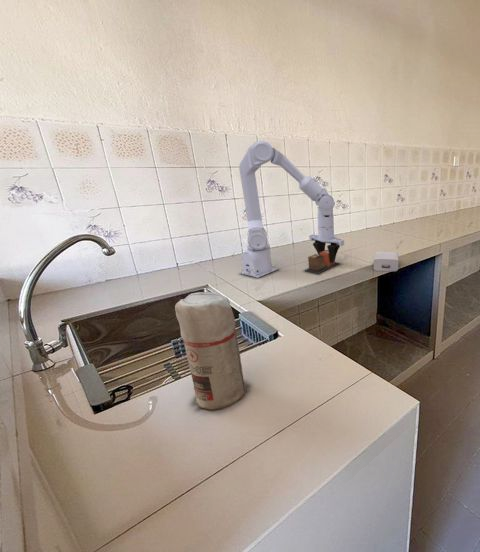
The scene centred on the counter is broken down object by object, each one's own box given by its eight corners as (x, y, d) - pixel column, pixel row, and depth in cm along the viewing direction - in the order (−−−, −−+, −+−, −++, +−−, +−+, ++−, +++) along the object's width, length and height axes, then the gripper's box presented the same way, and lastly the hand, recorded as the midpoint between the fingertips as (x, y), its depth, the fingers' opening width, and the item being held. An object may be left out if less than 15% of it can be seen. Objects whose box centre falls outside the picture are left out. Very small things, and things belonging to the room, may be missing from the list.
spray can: (189, 393, 61) (166, 294, 54) (236, 374, 67) (220, 282, 60) (204, 419, 56) (180, 313, 49) (253, 396, 61) (238, 298, 54)
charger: (397, 258, 139) (398, 271, 125) (375, 258, 139) (373, 270, 125) (397, 248, 137) (398, 259, 123) (375, 247, 137) (373, 258, 123)
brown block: (317, 271, 121) (317, 258, 119) (309, 269, 122) (308, 256, 120) (324, 268, 124) (324, 255, 122) (315, 266, 125) (315, 253, 124)
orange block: (328, 266, 126) (328, 253, 124) (320, 264, 128) (319, 252, 126) (335, 263, 130) (335, 250, 128) (327, 261, 131) (326, 249, 130)
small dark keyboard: (318, 274, 119) (318, 273, 119) (305, 271, 122) (304, 270, 122) (339, 264, 130) (339, 263, 130) (326, 261, 133) (326, 260, 133)
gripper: (348, 226, 124) (349, 261, 129) (316, 221, 129) (318, 255, 134) (337, 230, 118) (338, 266, 123) (304, 225, 123) (307, 259, 128)
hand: (327, 261), depth 128 cm, fingers open, 4 cm apart
